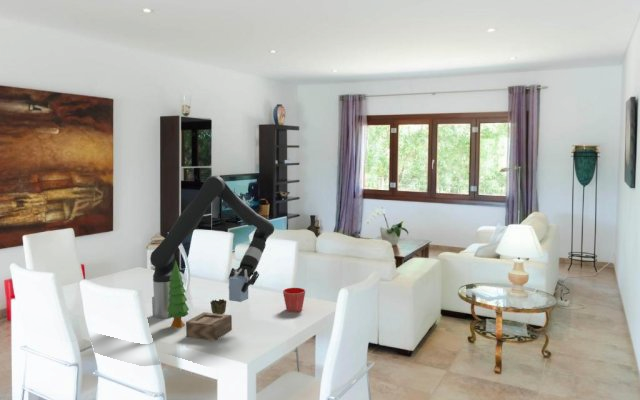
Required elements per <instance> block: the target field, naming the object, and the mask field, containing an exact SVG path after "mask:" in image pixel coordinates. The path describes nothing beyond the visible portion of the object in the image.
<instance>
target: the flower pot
mask: <svg viewBox="0 0 640 400" xmlns="http://www.w3.org/2000/svg"><path fill="white" fill-rule="evenodd" d="M282 294H283V300H284V304H285V309H286V311H288V312H293V313H294V312H296V313H297V312H301V311H302V310H303V306H304V302H305V295H306V290H305V288H301V287H289V288H288V287H287V288H285V289H283V290H282Z"/></svg>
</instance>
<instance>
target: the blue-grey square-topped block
mask: <svg viewBox="0 0 640 400" xmlns="http://www.w3.org/2000/svg"><path fill="white" fill-rule="evenodd" d="M228 278H229V277H228ZM245 281H246V277H245V276H233V277H230V278H229V279H228V300H229V301H231V302H236V303H237V302H238V303H241V302H244V301H246V300H248V299H249V287H248V288H247V290H246V292H245V293H243V292H242V291H241V290H242V287H243V285H244V283H245Z"/></svg>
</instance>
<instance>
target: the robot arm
mask: <svg viewBox="0 0 640 400" xmlns="http://www.w3.org/2000/svg"><path fill="white" fill-rule="evenodd" d="M216 198H218V199H221V200H222V201H223V202H224V203H225V204H226V205H227V206H228V207H229V208H230V209H231V210H232V211H233V213H234V214H235V215H236V216H237V217H238V218H239V219H240V220H241V221H242V222H243V223H244V224H246V225H247V226H249V227H252V226H253V227H255V228H256V229H255V230H254V232H253V236H252V239H251V241H250V243H249V245H248V248H247V249H246V251H245V253H244V254H243V256H242V259H241V261H240V262H239V266H238V268H236V269H235V268H234V267H232V268H231V270H230V273H229V275H228V278H227V279H228V280H229V278H230V277H233V276H245V277H246V281H245V283H244V285H243V287H242V290H241V291H242V292H243V293H245V292H246V290H247V288H248V289H249V287H250V285H251V286H254V285H255V283H256V282H257V280H258V278H259V276H260V273H259V272H258V271H257V268H258V266H259V264H260V260H261V259H262V255H263V253H264V250H265V248H266V245H267V244H266V242H267V240H268V239H269V237H271V236H272V235H273V233H274V232H275V227H274V226H275V225H274V224H273V223H272V222H271V221H270V220H269V219H267V218H265V217H264V216H262V215H260V214H258V213H257V212H256V211H255V210H254V209H252V208H251V207H250V206H249V205H248V204H247V203H246V202H245V201H244V200H243V199H241V198H240V197H239V196H238V195H237V194H236V193H235V192H234V191H233V190H232V188H231V187H230V186H229V185H228V184H227V183H226V181H225V180H224V179H223V178H222V177H221V176H219V175H212V176H208V177H207V178H206V179H205V180H204V182H203V184H202V186H201V187H200V189H199V191H198V192H197V194H196V195H195V197H194V198H193V199H192V200H191V201H190V203H189V204H188V205H187V206H186V207H185V209H184V210H183V211H182V212H181V214H180V215H179V216H178V217H177V219H176V221H175V222H174V223H173V225H172V227H171V228H170V230H169V231H168V233H167V234H166V236H165V238H164V239H163V240H162V241H161V242H159V245H157V247H155V249H154V250H153V251H152V252H151V254H150V259H149V260H150V263H151V265H152V266H153V267H154V272H153V275H152V283H153V287H152V288H153V296H152V297H151V306H152V307H151V309H152V318H156V319H167V318H168V319H169V317H168V314H169V312H167V309H168V306H169V304H170V302H169V301H168V300H169V298H170V295H169V291H170V288H169V285H170V281H171V280H169V278H170V276H171V274H172V271H173V268H174V265H175V252H176V250H177V249H178V248H179V246H180V245H181V244H182V243H183V242H185V241H186V239H188V238H189V236H191V235H192V233H193V232H194V231H195V230H196V228H197V227H198V225H199V224H200V222H201V221H202V219H203V217H204V215H205V213H206V211H207V210H208V208H209V206H210V205H211V204H212V203H213V202H214V200H215V199H216Z"/></svg>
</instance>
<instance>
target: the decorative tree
mask: <svg viewBox="0 0 640 400" xmlns="http://www.w3.org/2000/svg"><path fill="white" fill-rule="evenodd" d="M169 280H171V281H170V285H169V288H170V291H169V295H170V298H169V300H168V301H169V302H170V304H169V306H168V309H167V312H169V314H168V318H173V321H172V322H171V327H172V328H173V329H181V328H183V327H186V323H184V321H182V318H184V317H186V316H189V313H188V311H190V309H189V306H188V305H187V303H186V301H187V300H188V299H187V297H186V295H185V294H186V289H185V287H184V285H185V284H184V281H183V277H182V275H181V272H180V269H179V266H178V262H177V260H176V259H174V268H173V271H172V274H171V276H170V278H169Z"/></svg>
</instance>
